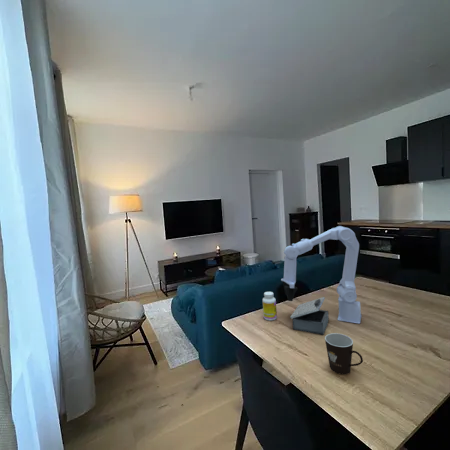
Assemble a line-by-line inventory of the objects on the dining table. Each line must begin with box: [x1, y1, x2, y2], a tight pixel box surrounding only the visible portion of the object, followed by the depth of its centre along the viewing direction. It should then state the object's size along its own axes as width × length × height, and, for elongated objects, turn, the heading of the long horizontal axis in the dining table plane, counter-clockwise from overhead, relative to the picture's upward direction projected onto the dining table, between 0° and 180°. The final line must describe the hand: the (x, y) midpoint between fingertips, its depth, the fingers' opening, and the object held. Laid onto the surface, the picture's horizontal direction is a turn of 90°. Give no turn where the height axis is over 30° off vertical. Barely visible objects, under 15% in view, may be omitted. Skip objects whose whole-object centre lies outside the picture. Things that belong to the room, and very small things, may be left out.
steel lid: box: [290, 296, 326, 320], centre depth 114 cm, size 14×15×2 cm
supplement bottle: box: [262, 291, 278, 321], centre depth 124 cm, size 7×7×13 cm
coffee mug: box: [324, 332, 364, 375], centre depth 82 cm, size 12×9×10 cm
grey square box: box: [291, 309, 330, 336], centre depth 114 cm, size 13×14×5 cm
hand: (288, 297), depth 121 cm, fingers open, 7 cm apart
